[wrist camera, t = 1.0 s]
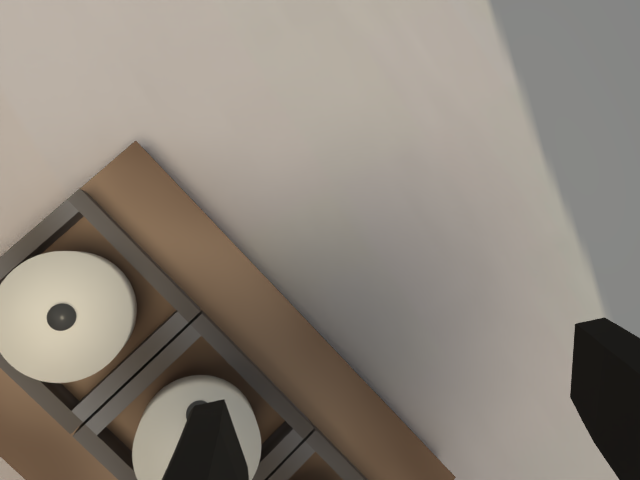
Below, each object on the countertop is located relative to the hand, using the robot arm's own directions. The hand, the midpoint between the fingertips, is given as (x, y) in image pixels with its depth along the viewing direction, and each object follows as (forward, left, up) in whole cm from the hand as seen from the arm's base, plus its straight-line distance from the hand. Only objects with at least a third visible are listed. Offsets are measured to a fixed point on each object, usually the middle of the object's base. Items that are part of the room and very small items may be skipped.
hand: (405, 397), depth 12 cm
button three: (-6, 0, -12) cm, 13 cm away
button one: (-6, +6, -12) cm, 14 cm away
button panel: (-6, 0, -15) cm, 16 cm away
